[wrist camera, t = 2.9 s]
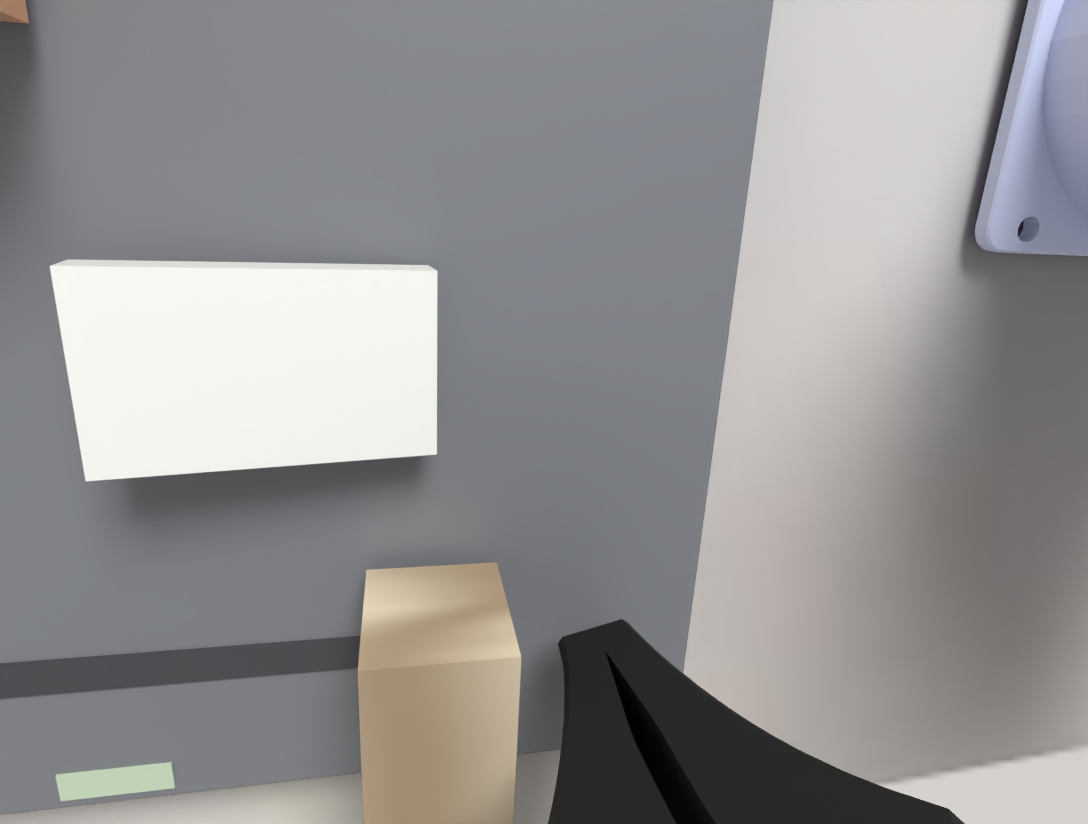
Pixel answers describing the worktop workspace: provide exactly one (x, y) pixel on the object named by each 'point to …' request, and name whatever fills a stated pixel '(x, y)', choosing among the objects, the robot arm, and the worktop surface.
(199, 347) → the off-white rocker
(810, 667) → the worktop surface
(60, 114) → the switch panel
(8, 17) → the peach slider
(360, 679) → the tan cardboard carton
